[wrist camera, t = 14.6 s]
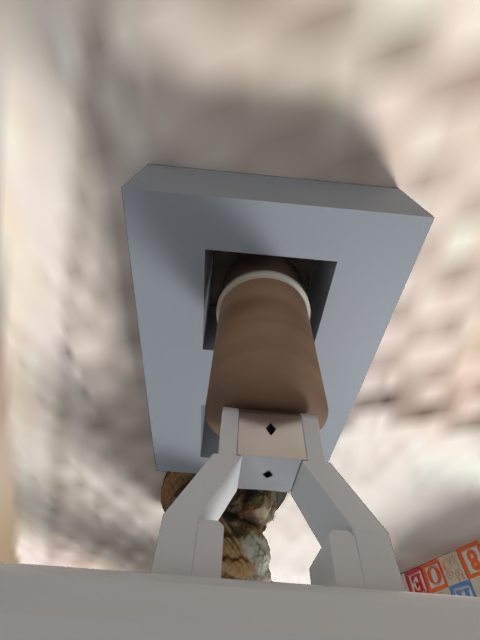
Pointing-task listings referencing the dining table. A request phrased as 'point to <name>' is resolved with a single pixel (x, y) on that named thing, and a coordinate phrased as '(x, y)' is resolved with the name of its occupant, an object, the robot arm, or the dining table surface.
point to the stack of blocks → (448, 574)
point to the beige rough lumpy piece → (237, 527)
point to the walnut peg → (264, 343)
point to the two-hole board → (266, 239)
